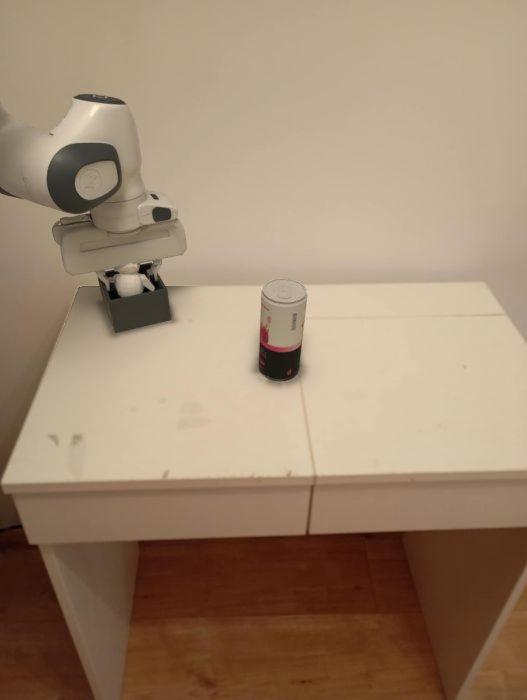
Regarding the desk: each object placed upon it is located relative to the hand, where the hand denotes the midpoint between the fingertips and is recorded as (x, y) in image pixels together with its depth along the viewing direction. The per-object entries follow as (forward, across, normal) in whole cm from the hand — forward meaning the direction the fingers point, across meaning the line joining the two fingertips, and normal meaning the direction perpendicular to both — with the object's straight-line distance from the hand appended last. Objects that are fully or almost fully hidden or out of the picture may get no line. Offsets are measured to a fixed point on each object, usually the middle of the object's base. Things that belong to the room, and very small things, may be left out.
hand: (131, 284), depth 83 cm
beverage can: (+6, +17, -24) cm, 30 cm away
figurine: (+6, 0, 0) cm, 6 cm away
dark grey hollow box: (+6, 0, 0) cm, 6 cm away
